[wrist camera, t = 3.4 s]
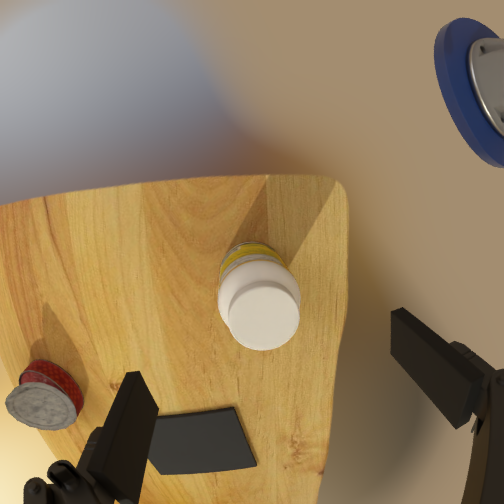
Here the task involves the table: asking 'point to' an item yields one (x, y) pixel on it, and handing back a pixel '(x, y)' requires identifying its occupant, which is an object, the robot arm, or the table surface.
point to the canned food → (45, 397)
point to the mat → (200, 443)
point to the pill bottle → (258, 296)
